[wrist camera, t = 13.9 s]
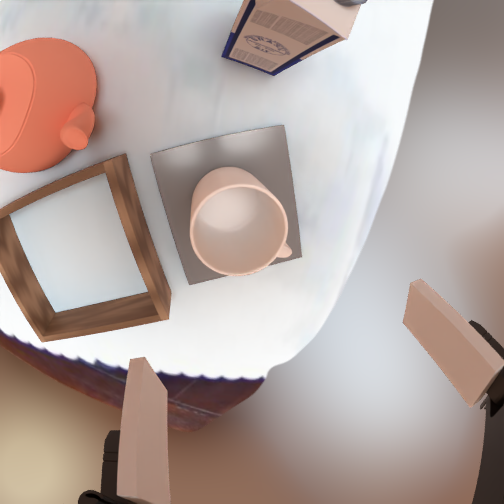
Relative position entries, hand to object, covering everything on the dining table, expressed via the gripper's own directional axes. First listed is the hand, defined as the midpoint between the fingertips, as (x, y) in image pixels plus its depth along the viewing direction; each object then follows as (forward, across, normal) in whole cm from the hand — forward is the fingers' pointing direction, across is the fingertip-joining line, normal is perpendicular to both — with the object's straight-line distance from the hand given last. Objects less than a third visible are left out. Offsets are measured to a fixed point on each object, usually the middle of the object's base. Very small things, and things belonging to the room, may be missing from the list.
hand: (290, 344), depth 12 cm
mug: (+24, +1, -1) cm, 25 cm away
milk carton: (+26, +7, +18) cm, 32 cm away
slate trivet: (+25, 0, -2) cm, 25 cm away
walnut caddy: (+25, -22, -1) cm, 33 cm away
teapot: (+26, -20, +19) cm, 37 cm away
